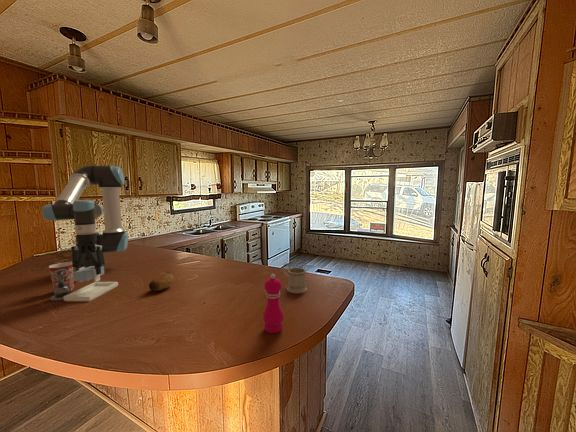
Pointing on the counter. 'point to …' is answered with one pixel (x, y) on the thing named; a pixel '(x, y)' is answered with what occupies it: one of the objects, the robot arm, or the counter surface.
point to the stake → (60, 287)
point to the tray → (91, 291)
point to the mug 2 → (296, 279)
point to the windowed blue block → (86, 274)
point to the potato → (161, 281)
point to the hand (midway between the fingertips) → (90, 281)
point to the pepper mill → (273, 306)
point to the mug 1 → (66, 274)
